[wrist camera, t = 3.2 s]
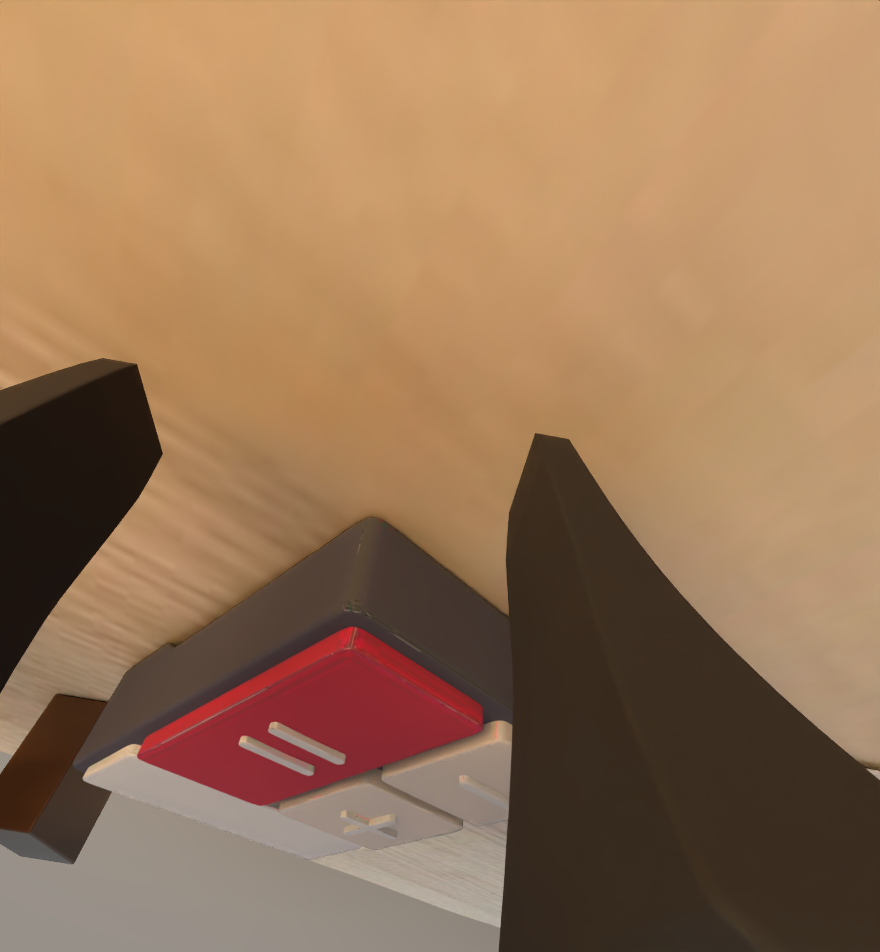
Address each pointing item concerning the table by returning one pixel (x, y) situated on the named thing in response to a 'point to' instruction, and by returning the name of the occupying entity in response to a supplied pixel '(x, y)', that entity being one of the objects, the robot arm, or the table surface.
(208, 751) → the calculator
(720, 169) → the table surface
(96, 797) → the corner blocks
